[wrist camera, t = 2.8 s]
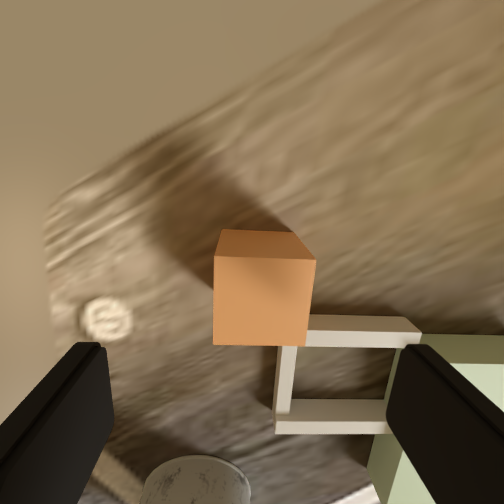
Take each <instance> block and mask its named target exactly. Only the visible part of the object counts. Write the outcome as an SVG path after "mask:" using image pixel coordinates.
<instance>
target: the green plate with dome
mask: <svg viewBox="0 0 504 504" xmlns="http://www.w3.org/2000/svg"><path fill="white" fill-rule="evenodd" d="M407 344H427V345H429V346H431V347H432V348H433V349H434V350H435V351H436V352H437V353H438V354H440V355H441V356H442V357H443V358H444V359H445V360H446V361H447V362H449V363H450V364H451V365H452V366H453V367H454V368H455V369H456V370H457V371H459V372H460V373H461V374H462V375H463V376H464V377H465V378H466V379H467V380H469V381H470V382H471V383H472V384H473V385H474V386H475V387H476V388H478V389H479V390H480V391H481V392H482V393H483V394H484V395H485V396H486V397H488V398H489V399H490V400H491V401H492V402H493V403H494V404H495V405H497V406H498V407H499V408H500V409H501V410H502V411H503V412H504V335H456V334H422V332H421V331H420V330H419V329H417V328H416V327H415V326H414V325H413V324H412V323H411V322H410V321H409V320H408V319H406V318H405V317H400V316H359V315H319V314H309V320H308V328H307V336H306V343H305V346H320V347H375V348H396V352H395V356H394V360H393V364H392V368H391V372H390V376H389V380H388V384H387V388H386V392H385V396H384V400H375V399H291V394H292V386H293V378H294V369H295V361H296V353H297V346H278V353H277V364H276V374H275V384H274V395H273V405H272V415H273V422H274V430H275V434H375V437H374V441H373V445H372V449H371V453H370V457H369V461H368V465H367V471H368V473H369V476H370V478H371V481H372V483H373V485H374V488H375V490H376V492H377V495H378V497H379V500H380V502H381V504H436V503H435V502H434V500H433V498H432V497H431V495H430V493H429V492H428V490H427V488H426V487H425V485H424V483H423V482H422V480H421V479H420V477H419V475H418V474H417V472H416V470H415V469H414V467H413V465H412V464H411V462H410V460H409V459H408V457H407V455H406V454H405V452H404V450H403V449H402V447H401V445H400V444H399V442H398V441H397V439H396V437H395V436H394V434H393V432H392V431H391V429H390V427H389V426H388V423H387V421H386V409H387V405H388V401H389V397H390V393H391V389H392V385H393V380H394V376H395V372H396V368H397V364H398V360H399V356H400V352H401V350H402V349H404V348H405V346H406V345H407Z"/></svg>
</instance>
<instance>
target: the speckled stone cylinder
mask: <svg viewBox="0 0 504 504" xmlns="http://www.w3.org/2000/svg"><path fill="white" fill-rule="evenodd" d="M250 496H251V491H250V484H249V482H248V480H247V477H246V476H245V474H244V473H243V472H242V471H241V470H240V469H239V468H238V467H236V466H235V465H234V464H232V463H230V462H228V461H226V460H224V459H221V458H218V457H213V456H209V455H187V456H181V457H177V458H174V459H171V460H169V461H167V462H165V463H162V464H161V465H160V466H158V467H157V468H156V469H154V470H153V471H152V472H151V474H150V475H149V476H148V477H147V479H146V481H145V484H144V486H143V493H142V497H141V500H140V504H250Z"/></svg>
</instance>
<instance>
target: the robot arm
mask: <svg viewBox="0 0 504 504" xmlns="http://www.w3.org/2000/svg"><path fill="white" fill-rule="evenodd" d="M386 421H387V423H388V426H389V427H390V429H391V431H392V432H393V434H394V436H395V437H396V439H397V441H398V442H399V444H400V445H401V447H402V449H403V450H404V452H405V454H406V455H407V457H408V459H409V460H410V462H411V464H412V465H413V467H414V469H415V470H416V472H417V474H418V475H419V477H420V479H421V480H422V482H423V483H424V485H425V487H426V488H427V490H428V492H429V493H430V495H431V497H432V498H433V500H434V502H435V503H436V504H504V412H503V411H502V410H501V409H500V408H499V407H498V406H497V405H495V404H494V403H493V402H492V401H491V400H490V399H489V398H488V397H486V396H485V395H484V394H483V393H482V392H481V391H480V390H479V389H478V388H476V387H475V386H474V385H473V384H472V383H471V382H470V381H469V380H467V379H466V378H465V377H464V376H463V375H462V374H461V373H460V372H459V371H457V370H456V369H455V368H454V367H453V366H452V365H451V364H450V363H449V362H447V361H446V360H445V359H444V358H443V357H442V356H441V355H440V354H438V353H437V352H436V351H435V350H434V349H433V348H432V347H431V346H429V345H427V344H407V345H406V346H405V348H404V349H402V350H401V352H400V356H399V360H398V364H397V368H396V372H395V376H394V380H393V385H392V389H391V393H390V397H389V401H388V405H387V409H386ZM113 423H114V410H113V402H112V394H111V385H110V377H109V368H108V360H107V351H106V348H104V347H101V345H100V343H98V342H77V343H75V344H74V345H73V346H72V347H71V349H70V350H69V351H68V352H67V353H66V354H65V355H64V356H63V357H62V358H61V359H60V361H59V362H58V363H57V364H56V365H55V366H54V367H53V368H52V369H51V370H50V371H49V373H48V374H47V375H46V376H45V377H44V378H43V379H42V380H41V381H40V382H39V384H38V385H37V386H36V387H35V388H34V389H33V390H32V391H31V392H30V393H29V394H28V396H27V397H26V398H25V399H24V400H23V401H22V402H21V403H20V404H19V405H18V406H17V408H16V409H15V410H14V411H13V412H12V413H11V414H10V415H9V416H8V417H7V418H6V420H5V421H4V422H3V423H2V424H1V425H0V504H77V503H78V501H79V499H80V497H81V494H82V492H83V490H84V488H85V486H86V484H87V482H88V479H89V477H90V475H91V473H92V471H93V469H94V467H95V465H96V462H97V460H98V458H99V456H100V454H101V452H102V450H103V448H104V445H105V443H106V441H107V439H108V437H109V435H110V433H111V430H112V427H113Z"/></svg>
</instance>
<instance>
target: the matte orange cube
mask: <svg viewBox="0 0 504 504" xmlns="http://www.w3.org/2000/svg"><path fill="white" fill-rule="evenodd" d="M315 267H316V259H315V257H314V256H313V255H312V254H311V253H310V251H309V250H308V249H307V248H306V247H305V245H304V244H303V243H302V242H301V240H300V239H299V238H298V237H297V236H296V234H295V233H294V232H279V231H256V230H232V229H222V230H221V234H220V237H219V241H218V244H217V248H216V251H215V255H214V308H213V345H261V346H305V343H306V336H307V328H308V320H309V313H310V305H311V297H312V290H313V282H314V274H315Z"/></svg>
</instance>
